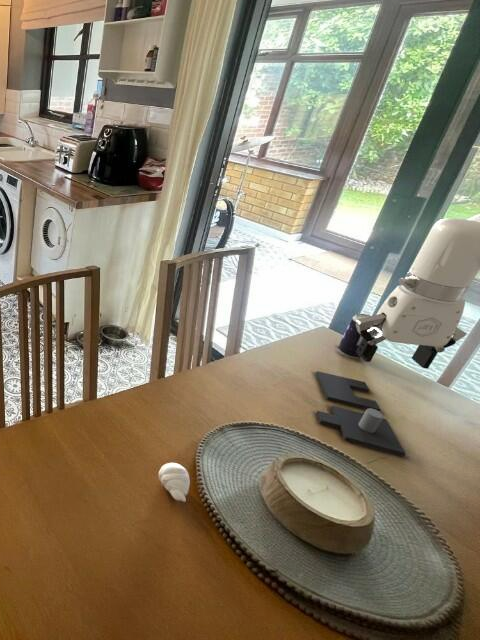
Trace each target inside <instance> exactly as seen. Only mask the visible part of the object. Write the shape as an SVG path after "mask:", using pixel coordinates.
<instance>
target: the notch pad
mask: <svg viewBox="0 0 480 640" xmlns="http://www.w3.org/2000/svg"><path fill="white" fill-rule="evenodd" d="M315 375H316V378H317V380H318V383H319V385H320V387H321V390H322V392H323V394H324V396H325V399H326V400H327V401H330V402H335V403H338V404H343V405H347V406H351V407H354V408H358V409H363V410H367V409H368V408H371V409H375V410H377V411H379V412H381V407H380V405H379V404H378V403H377V401H376V400H373V399H370V398H365V397H361V396H356V395H355V393H354V391H353V390H355V391H358V392H363V393H369V392H370V388H369V387H368V384H367V383H366V381H362V380H357V379H353V378H349V377H346V376H345V377H344V376H341V375H336V374H332V373H327V372H323V371H318V370H317V371H316V372H315Z"/></svg>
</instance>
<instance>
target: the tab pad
mask: <svg viewBox="0 0 480 640" xmlns="http://www.w3.org/2000/svg"><path fill="white" fill-rule="evenodd" d="M330 410H331V413H330V412H329V413H328V412H326V411H320V410H317V411H316V413H315V415H316V417H317V420H318V423H319V424H320V425H325V426H328V427H331V428H336V429H339V431H340V433H341V435H342V438H343V440H344V441H346V442H350V443H354V444H357V445H360V446H361V445H362V446H364V447H368V448H372V449H375V450H379V451H382V452H386V453H390V454H393V455H397V456H401V457H405V455H406V451H405V449H404V448H403V446H402V445H401V442H400V441H399V439H398V437H397V436H396V433H395V432H394V431H393V428H392V426H391V425H390V423H389V421H388V420H387V418H384V414H383V413H382V412H381V411H380V412H379V411H377V410H375V409H371V408H368V409H365V411H364V412H361V411H356V410H352V409H350V408H349V409H348V408H344V407H340V406H336V405H333V404H332V405H331V406H330Z"/></svg>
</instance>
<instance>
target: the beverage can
mask: <svg viewBox="0 0 480 640" xmlns="http://www.w3.org/2000/svg"><path fill="white" fill-rule="evenodd" d="M370 316H371V315H370V314H366V313H356V314H355V315H354V316H352V317H351V319H350V321H349V322H348V325H347V328H346V330H345V332H344V334H343V335H342V337H341V340H340V341H339V343H338V346H337V348H338V350H339V352H340V353H341V354H342V355H344V356H345V357H348V358H350V359H362V358H361V357H360V356H359V355H358V354H357V353H356V351H357V348H358V346H359V345H360V343H361V341H362V339H363V338H362V337H361V336H360V334H359V333H358V332H357V327H356V322H355V321H356V320H357V319H361V318H365V317H370ZM370 328H372V326H369V327H368V329H370ZM375 336H377V333H376V334H374V335H372V337H375Z"/></svg>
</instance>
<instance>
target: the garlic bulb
mask: <svg viewBox="0 0 480 640" xmlns="http://www.w3.org/2000/svg"><path fill="white" fill-rule="evenodd" d="M158 480H159V482H160V483H161V485H162V486H163V487H164V488H165V490H166V491H167V492H168V493H170V495H171V497H172V498H173V499H174V500H176V501H179V502H180V501H181V502H182V503H186V501H187V498H186V496H187V495H188V494H189V490H190V485H191V479H190V474H189V471H188V470H187V469H186V468H185V467H184V466H182V465H181V464H180V463H177V462H167V463H165V464H163V465H162V466H161V467H160V469H159V471H158Z"/></svg>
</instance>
